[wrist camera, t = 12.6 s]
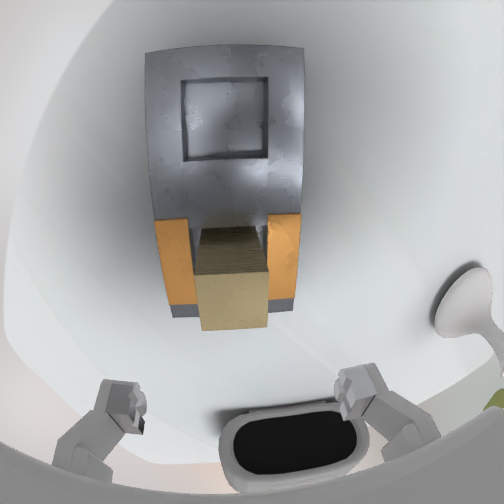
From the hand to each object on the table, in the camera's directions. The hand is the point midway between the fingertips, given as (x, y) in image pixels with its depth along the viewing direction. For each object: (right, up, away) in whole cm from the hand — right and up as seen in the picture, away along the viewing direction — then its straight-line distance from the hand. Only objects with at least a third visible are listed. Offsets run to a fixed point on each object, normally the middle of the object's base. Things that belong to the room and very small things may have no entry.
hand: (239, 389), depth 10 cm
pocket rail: (-2, +10, +11) cm, 15 cm away
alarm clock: (+6, -20, +27) cm, 34 cm away
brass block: (-1, +6, +12) cm, 13 cm away
